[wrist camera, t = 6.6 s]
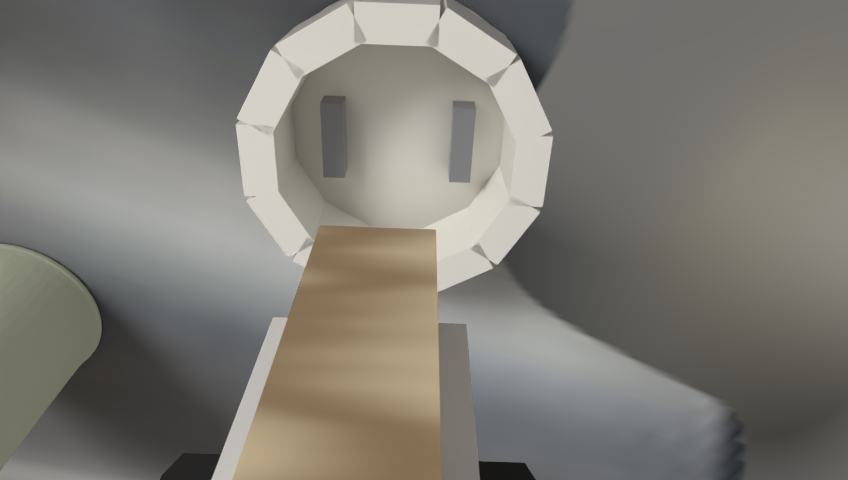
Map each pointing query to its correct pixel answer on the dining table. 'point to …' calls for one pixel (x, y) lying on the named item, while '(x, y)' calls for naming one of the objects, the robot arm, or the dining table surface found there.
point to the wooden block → (355, 365)
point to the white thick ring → (396, 132)
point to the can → (39, 338)
